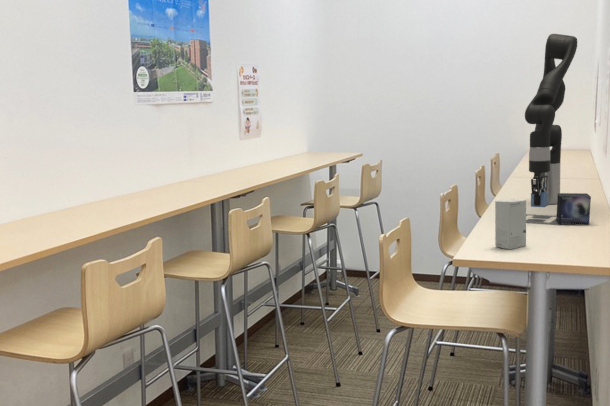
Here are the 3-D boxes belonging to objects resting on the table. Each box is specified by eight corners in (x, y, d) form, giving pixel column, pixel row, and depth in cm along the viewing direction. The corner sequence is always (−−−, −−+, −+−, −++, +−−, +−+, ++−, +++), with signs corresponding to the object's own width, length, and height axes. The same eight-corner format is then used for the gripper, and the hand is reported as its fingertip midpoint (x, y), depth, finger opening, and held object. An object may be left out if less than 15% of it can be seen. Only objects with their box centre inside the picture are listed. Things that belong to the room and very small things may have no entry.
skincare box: (509, 250, 215) (509, 202, 213) (494, 247, 220) (494, 200, 218) (527, 245, 220) (527, 199, 218) (511, 243, 225) (511, 197, 223)
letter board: (518, 214, 276) (518, 213, 276) (571, 217, 264) (571, 216, 264) (505, 221, 262) (505, 220, 262) (560, 225, 251) (560, 224, 251)
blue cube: (534, 204, 266) (534, 191, 265) (548, 205, 263) (548, 192, 262) (530, 206, 261) (530, 193, 261) (544, 207, 259) (544, 194, 258)
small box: (558, 224, 251) (559, 195, 249) (555, 221, 257) (556, 192, 255) (590, 224, 249) (591, 195, 247) (586, 221, 255) (587, 193, 253)
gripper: (544, 161, 252) (544, 207, 254) (555, 157, 263) (554, 202, 266) (523, 160, 256) (523, 206, 258) (534, 157, 268) (534, 201, 270)
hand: (539, 204), depth 262 cm, fingers closed on blue cube, 5 cm apart
